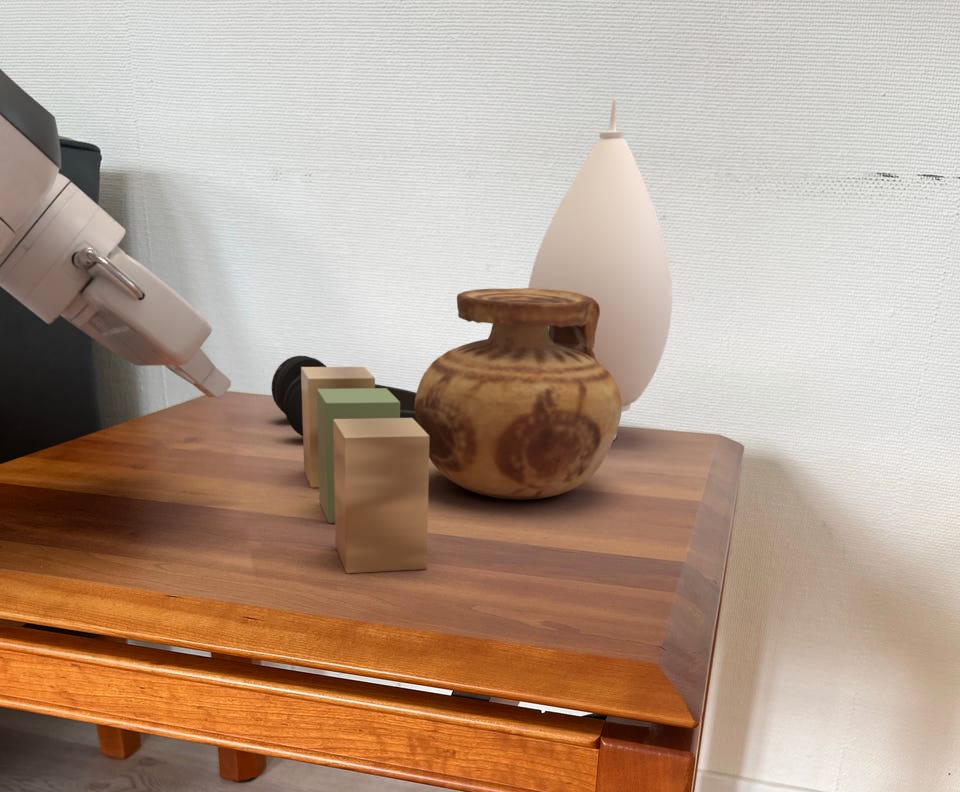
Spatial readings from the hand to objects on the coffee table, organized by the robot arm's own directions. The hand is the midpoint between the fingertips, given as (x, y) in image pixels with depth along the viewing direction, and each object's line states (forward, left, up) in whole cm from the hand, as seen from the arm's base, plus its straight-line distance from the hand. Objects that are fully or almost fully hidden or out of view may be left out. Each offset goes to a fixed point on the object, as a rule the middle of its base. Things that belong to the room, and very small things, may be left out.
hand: (222, 391), depth 80 cm
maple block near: (+11, -10, -11) cm, 18 cm away
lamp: (+42, +28, -11) cm, 51 cm away
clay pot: (+27, +8, -11) cm, 30 cm away
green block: (+11, +2, -11) cm, 15 cm away
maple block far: (+11, +13, -11) cm, 20 cm away
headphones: (+17, +34, -11) cm, 39 cm away
